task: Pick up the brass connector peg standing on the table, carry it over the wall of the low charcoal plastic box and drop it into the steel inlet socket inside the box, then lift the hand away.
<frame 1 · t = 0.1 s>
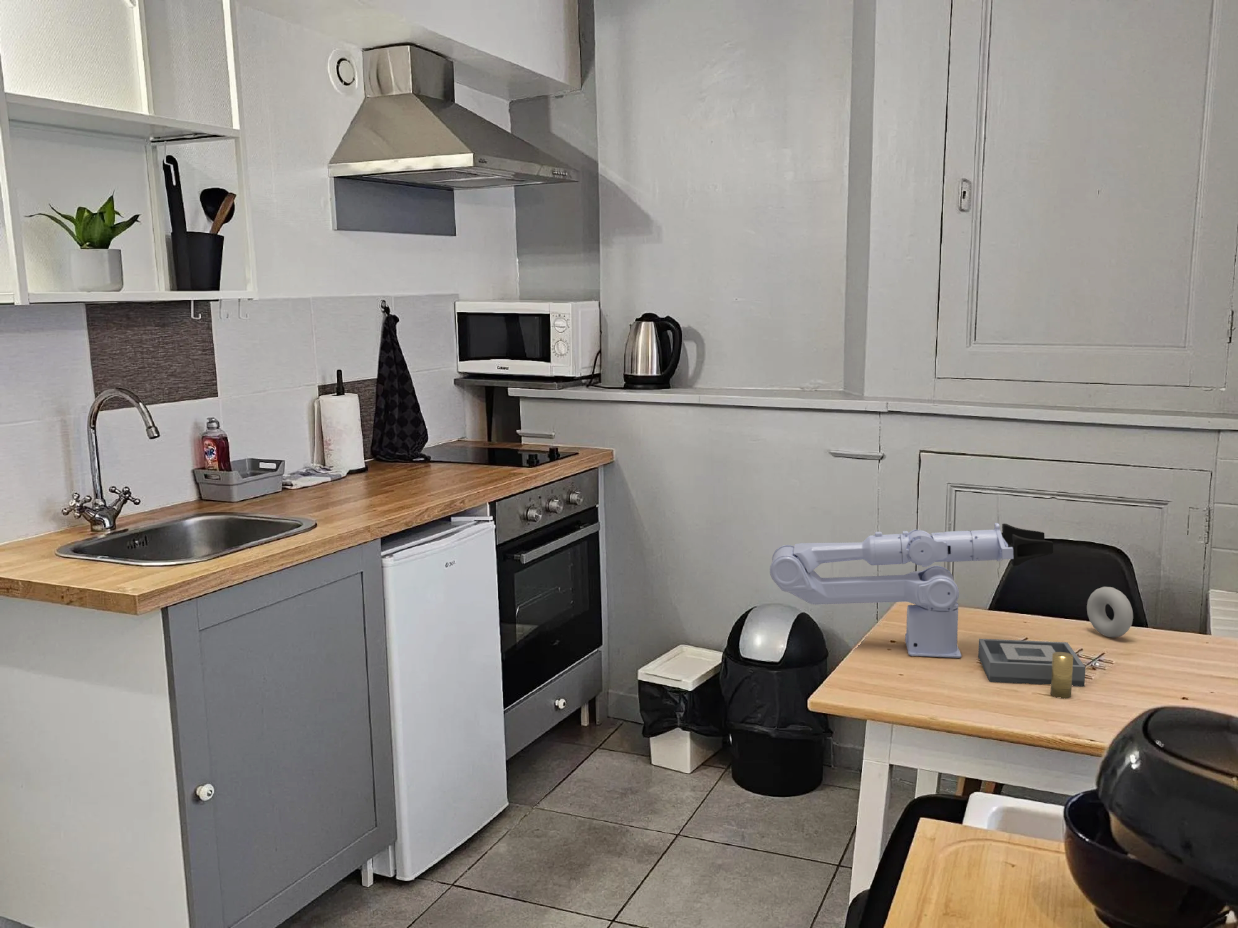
hand: (1048, 542, 195), 22 cm above the table, tool horizontal, fingers open, 7 cm apart
box: (1029, 670, 190), on the table
connector: (1060, 694, 178), on the table
donut: (1108, 637, 209), on the table
inlet: (1029, 658, 190), in the box, point 2 cm above the table
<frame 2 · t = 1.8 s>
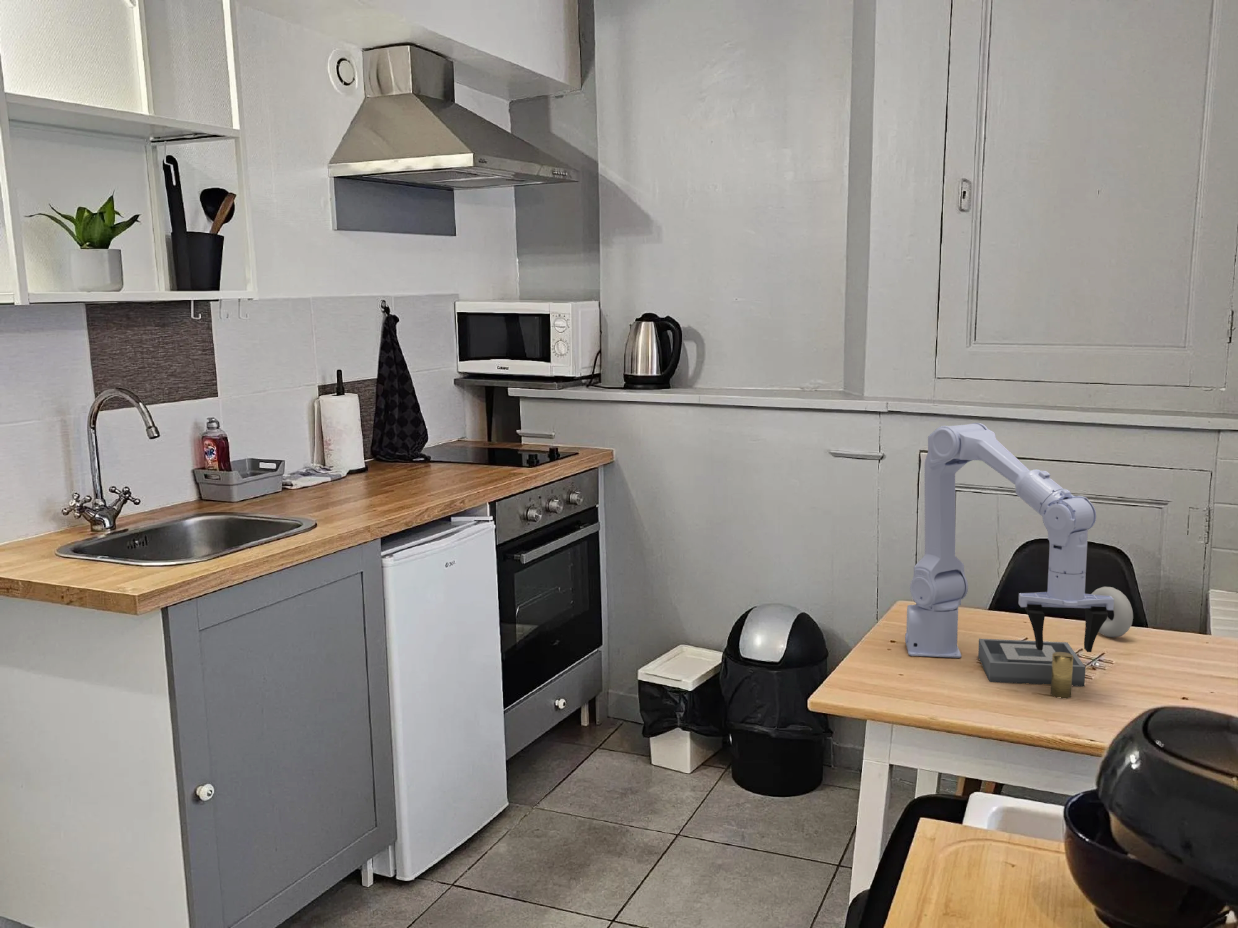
hand: (1063, 649, 177), 8 cm above the table, tool pointing down, fingers open, 7 cm apart
nothing on the table moved.
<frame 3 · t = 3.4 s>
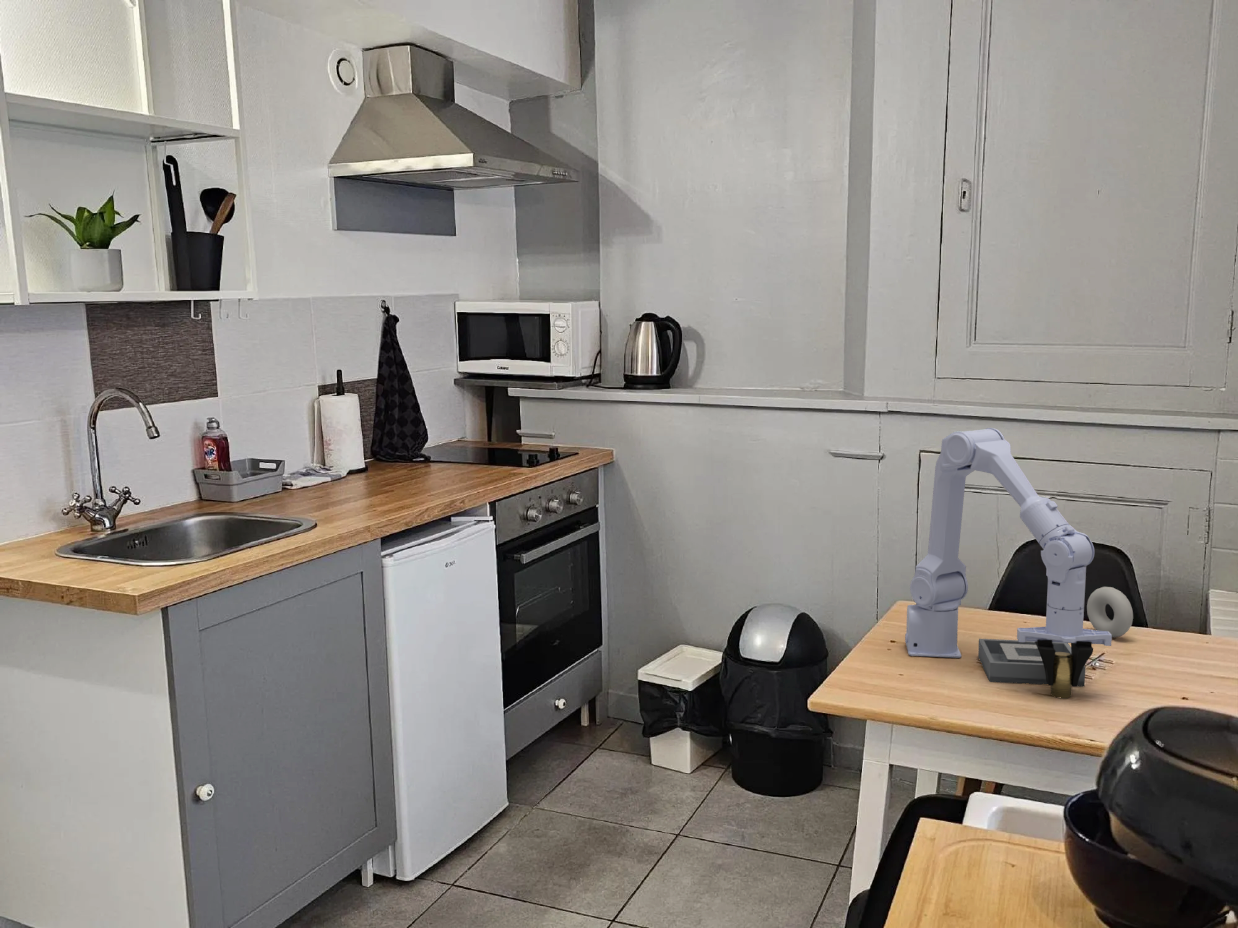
hand: (1061, 683, 178), 2 cm above the table, tool pointing down, fingers closed on connector, 3 cm apart
connector: (1060, 694, 178), on the table, touching gripper
everything else where it was.
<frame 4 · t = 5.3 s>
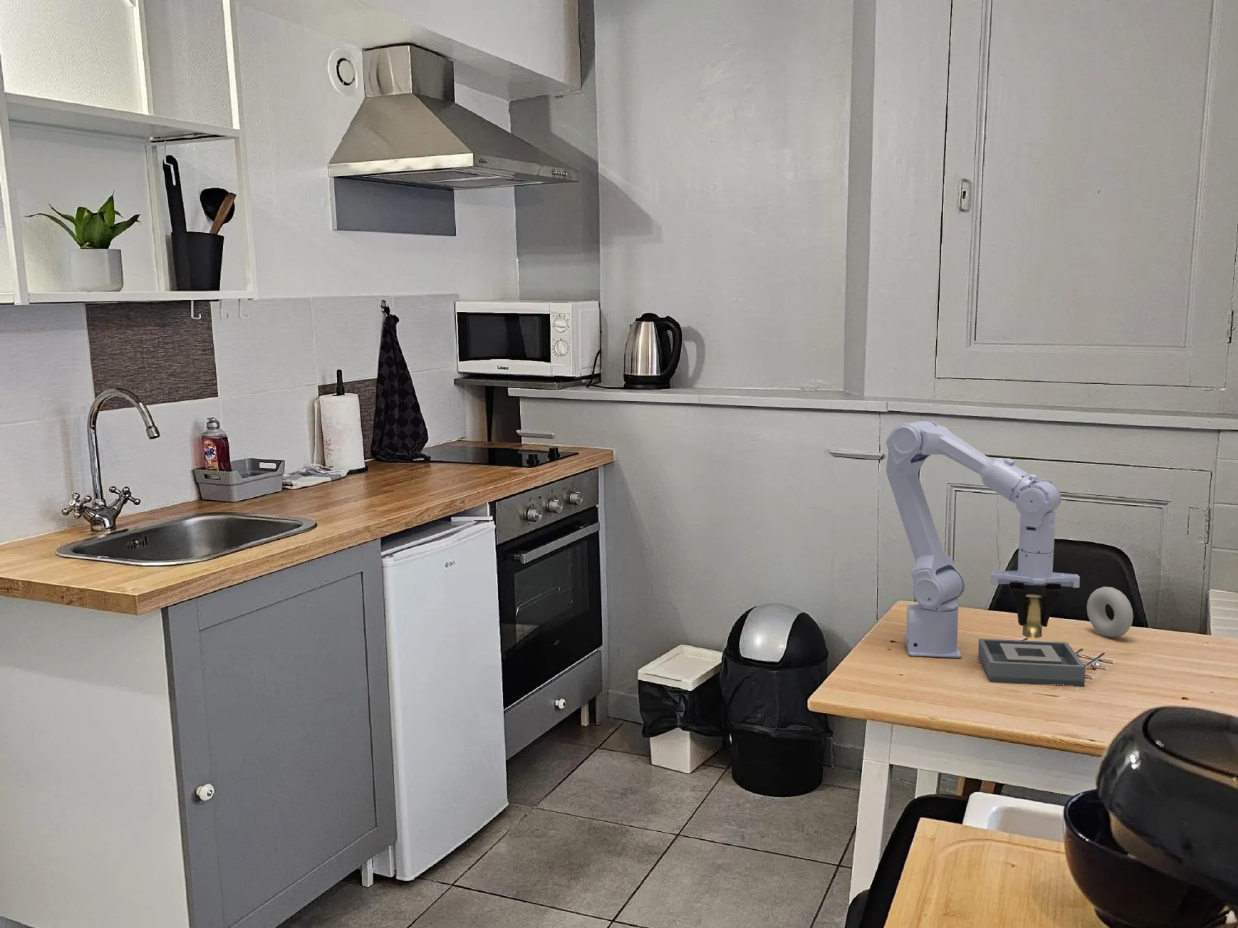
hand: (1032, 624, 188), 9 cm above the table, tool pointing down, fingers closed on connector, 3 cm apart
connector: (1032, 634, 188), point 7 cm above the table, touching gripper
everything else where it was.
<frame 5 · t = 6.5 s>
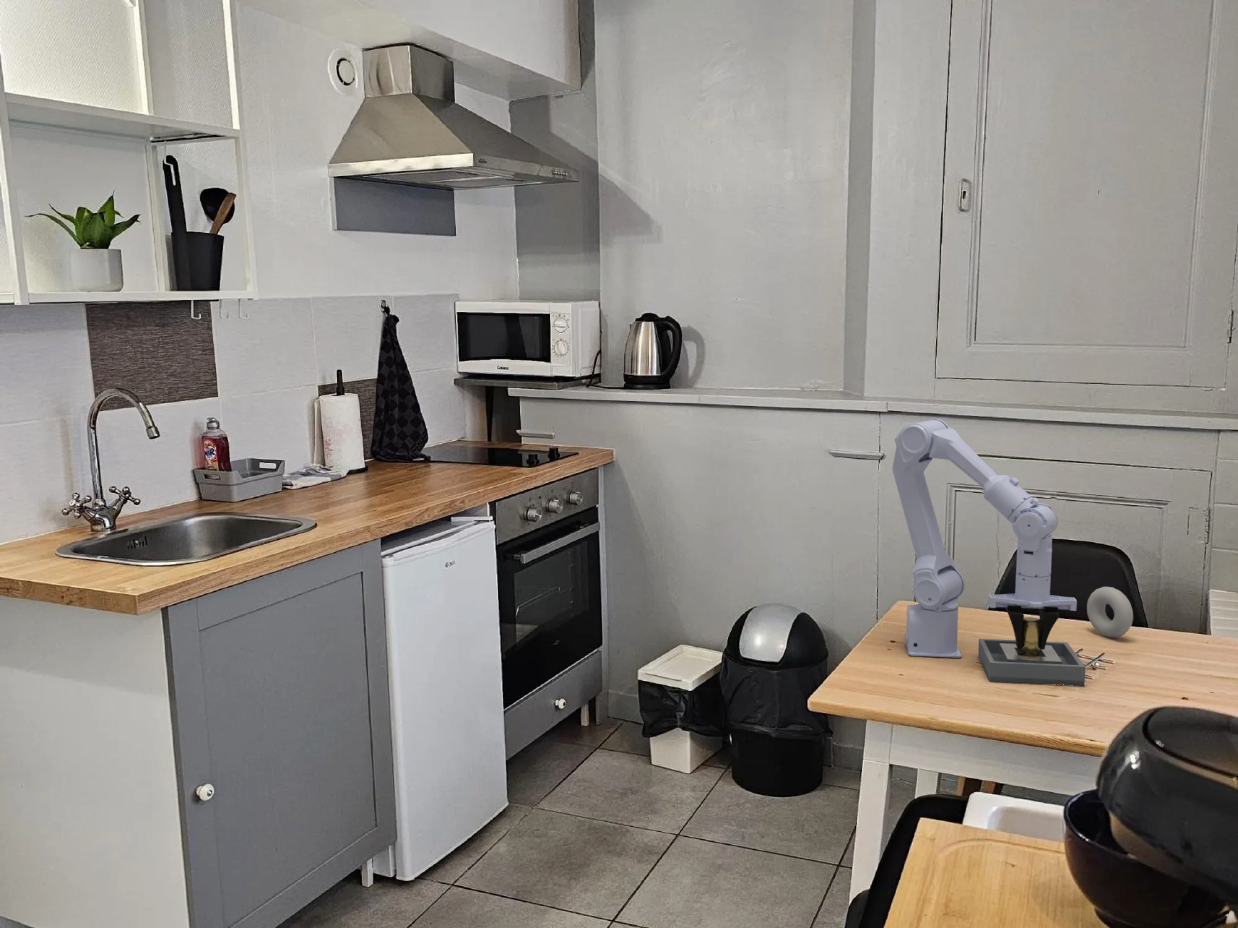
hand: (1030, 647, 189), 4 cm above the table, tool pointing down, fingers closed on connector, 3 cm apart
connector: (1029, 657, 190), point 3 cm above the table, touching gripper
everything else where it was.
when the fingers open (4 cm above the table, at t = 7.5 s): connector drops 1 cm, resting on box.
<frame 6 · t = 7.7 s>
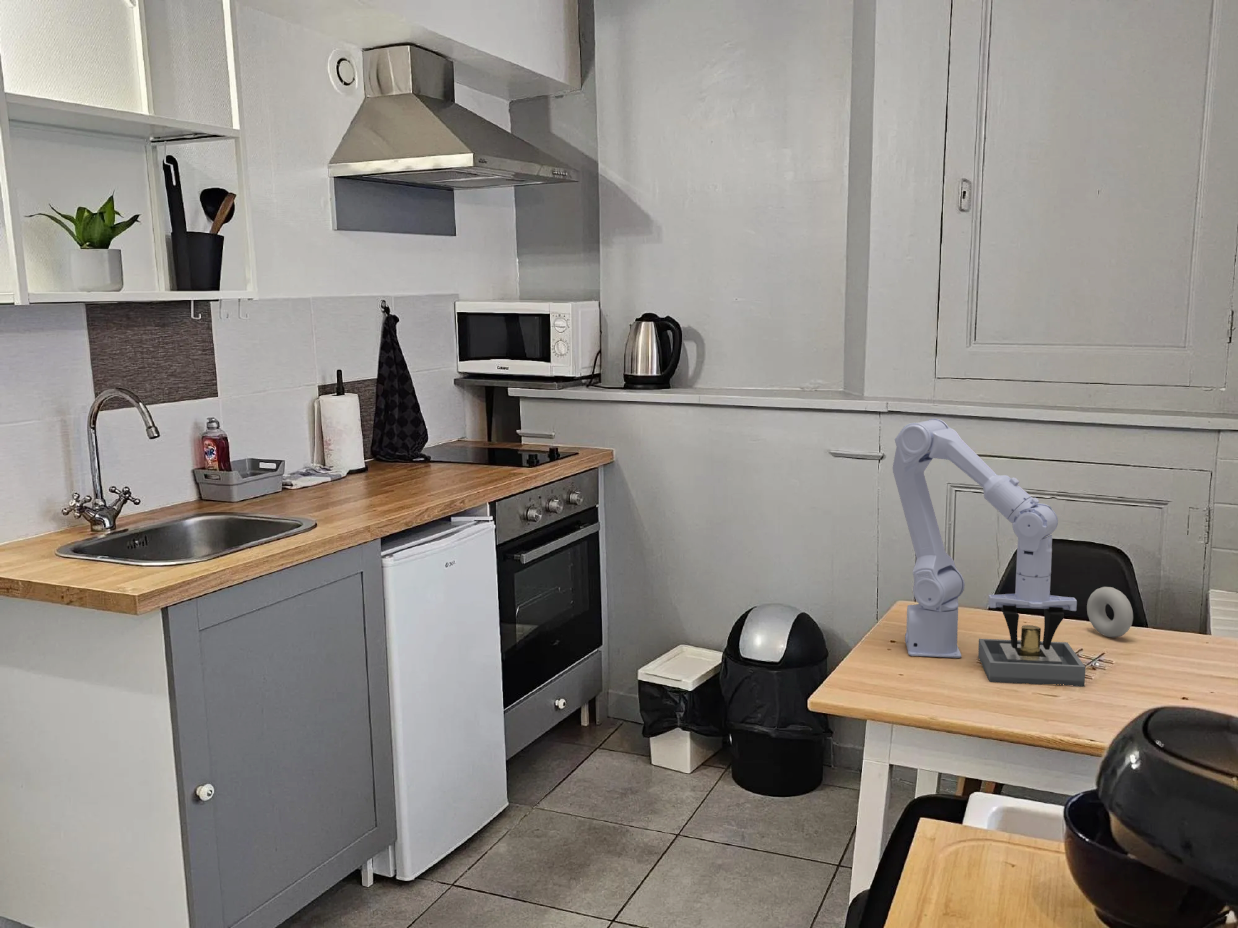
hand: (1030, 647, 189), 4 cm above the table, tool pointing down, fingers open, 5 cm apart
connector: (1029, 665, 190), point 1 cm above the table, touching box
everything else where it was.
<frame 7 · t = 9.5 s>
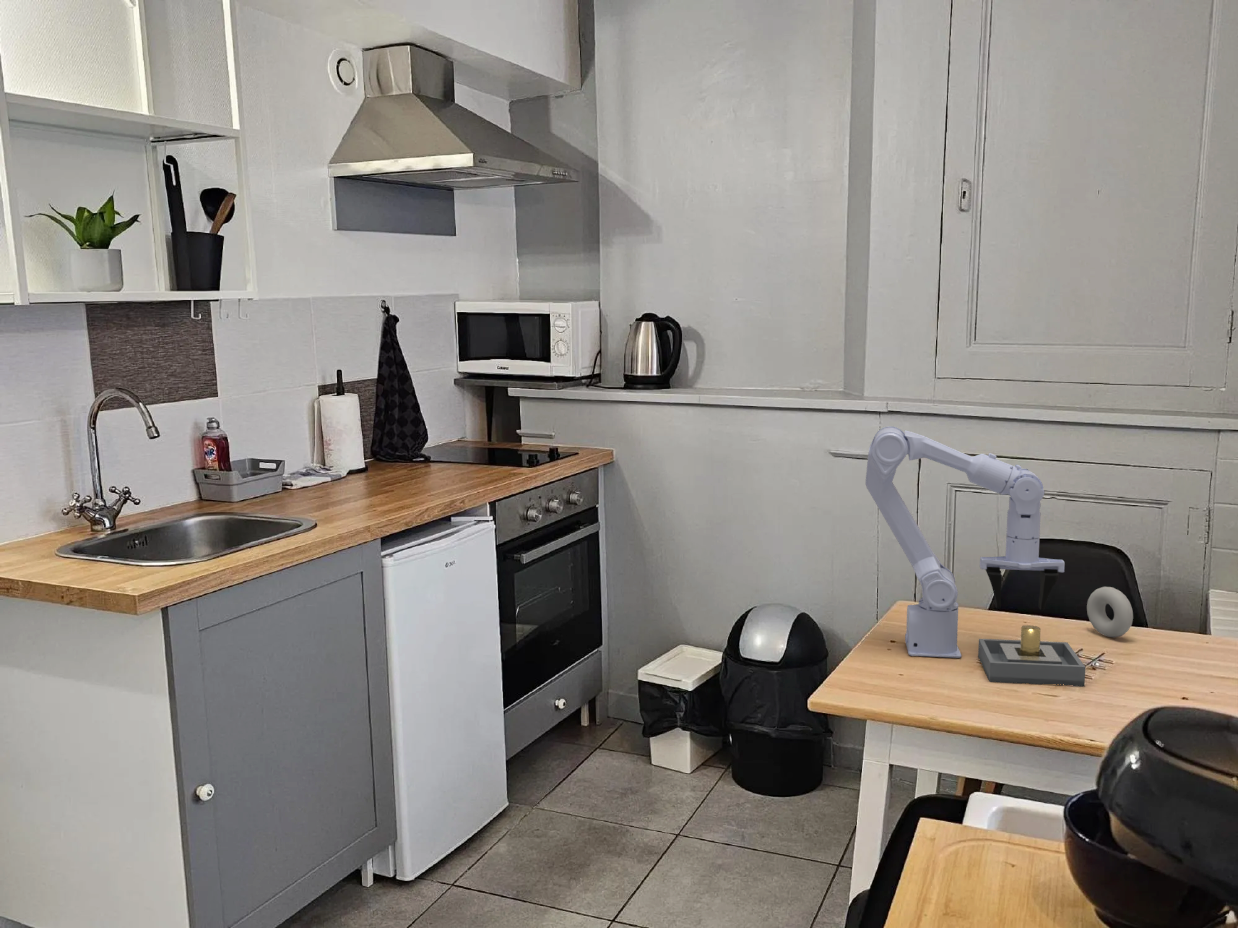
hand: (1019, 607, 196), 9 cm above the table, tool pointing down, fingers open, 7 cm apart
nothing on the table moved.
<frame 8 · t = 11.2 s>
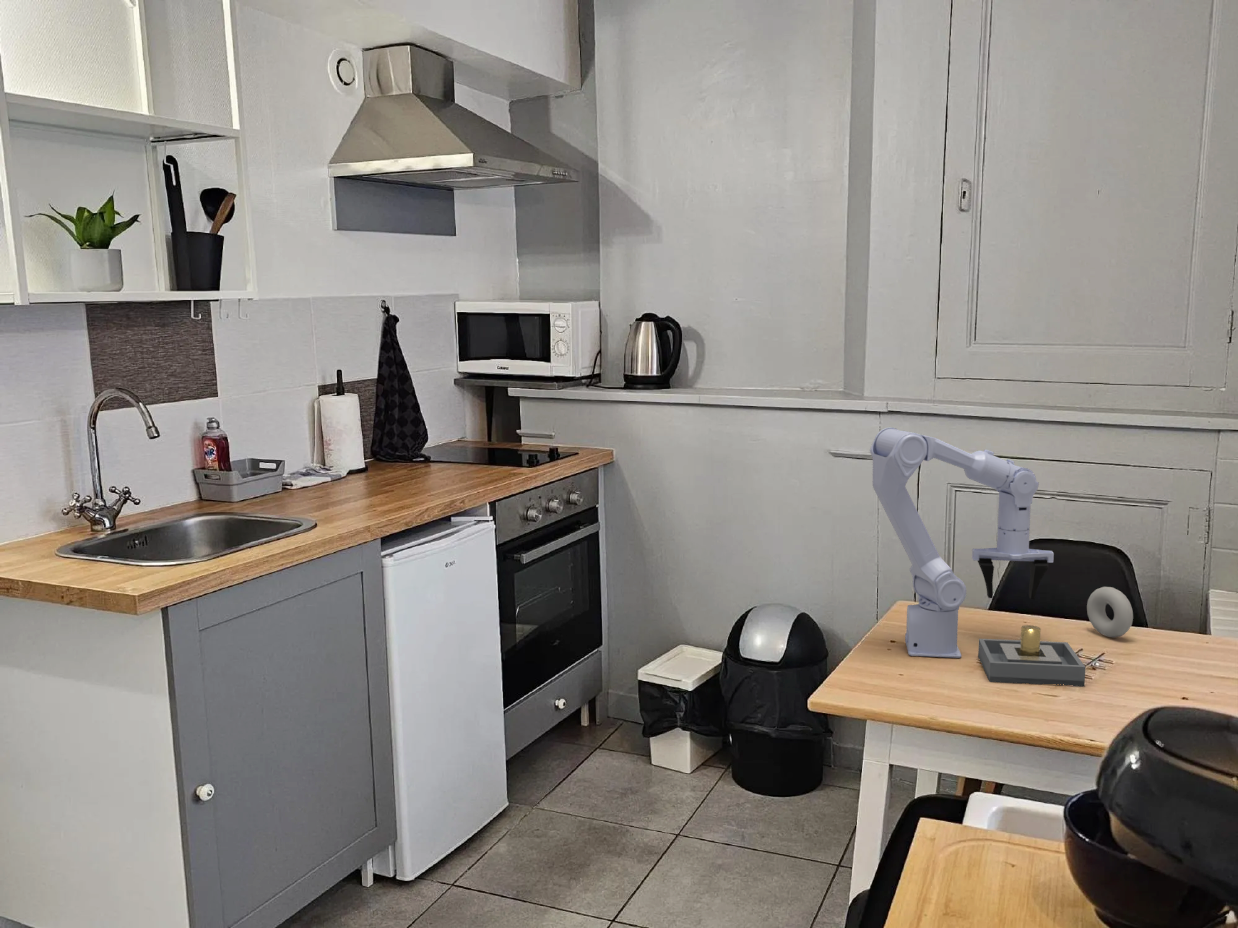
hand: (1010, 597, 203), 9 cm above the table, tool pointing down, fingers open, 7 cm apart
nothing on the table moved.
at the end: connector 0.0 cm off-centre on the inlet, point 1.0 cm above the inlet's base; connector tilted 0°; the gripper is holding nothing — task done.
